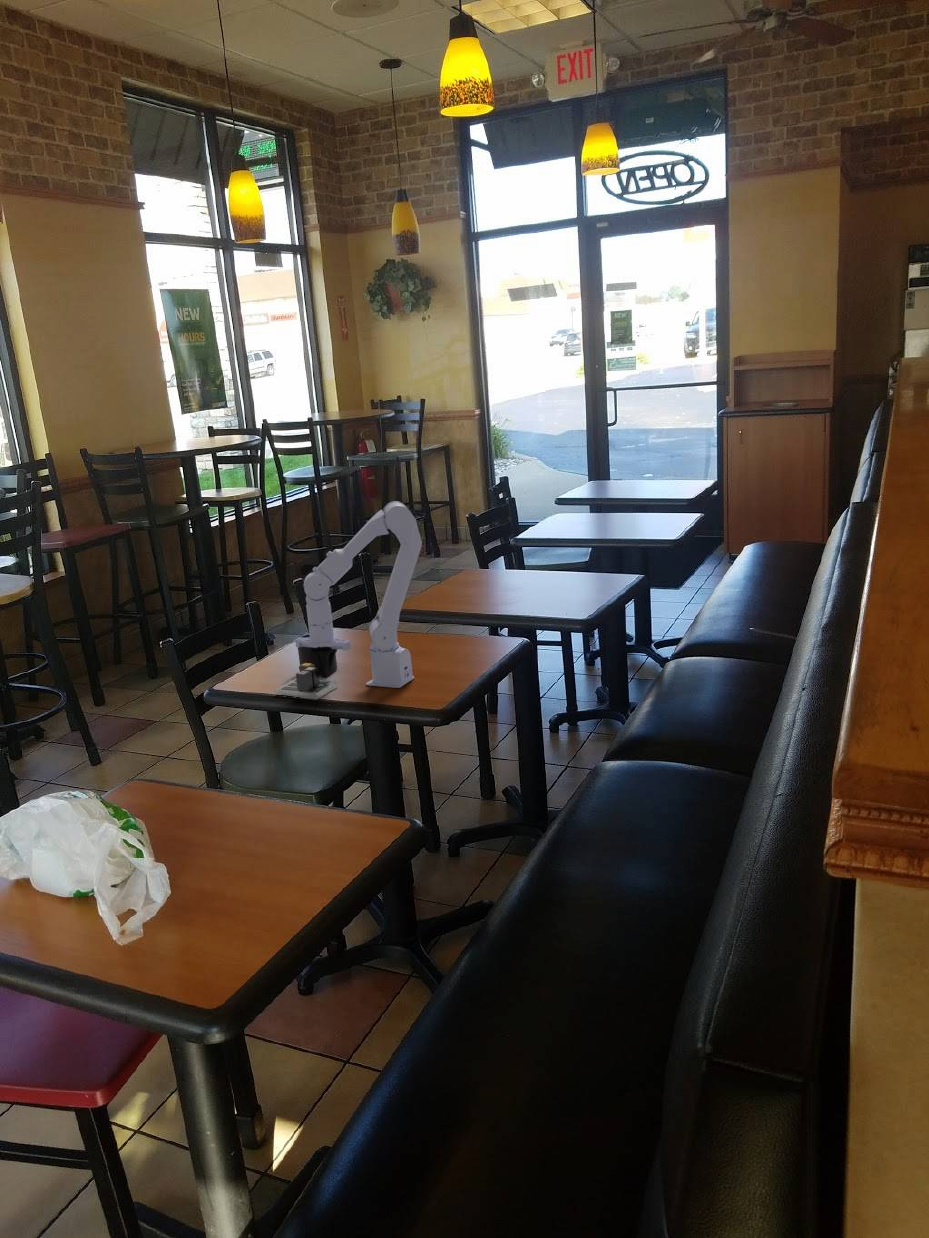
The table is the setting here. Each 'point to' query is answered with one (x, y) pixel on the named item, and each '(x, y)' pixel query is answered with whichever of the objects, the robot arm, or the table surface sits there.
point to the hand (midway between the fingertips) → (326, 676)
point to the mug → (306, 658)
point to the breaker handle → (305, 666)
